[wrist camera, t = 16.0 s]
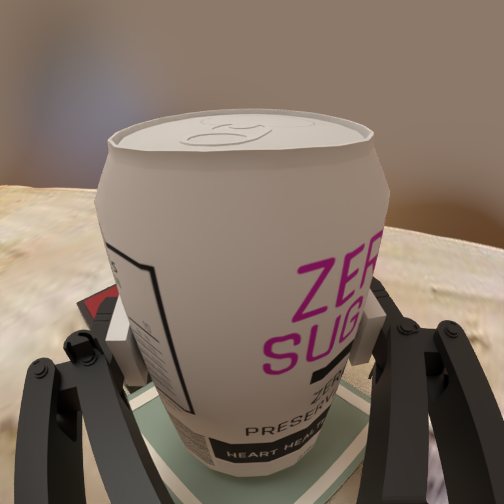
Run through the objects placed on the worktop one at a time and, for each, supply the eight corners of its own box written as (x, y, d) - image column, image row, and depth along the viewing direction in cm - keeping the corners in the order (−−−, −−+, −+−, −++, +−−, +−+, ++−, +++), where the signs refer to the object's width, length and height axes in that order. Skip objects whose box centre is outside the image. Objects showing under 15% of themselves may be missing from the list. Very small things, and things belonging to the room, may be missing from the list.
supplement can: (208, 349, 20) (181, 108, 12) (331, 375, 18) (382, 119, 10) (153, 449, 14) (20, 166, 6) (304, 495, 11) (439, 191, 3)
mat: (106, 412, 17) (103, 408, 17) (252, 322, 25) (252, 317, 25) (244, 571, 9) (244, 571, 8) (394, 417, 17) (397, 413, 16)
